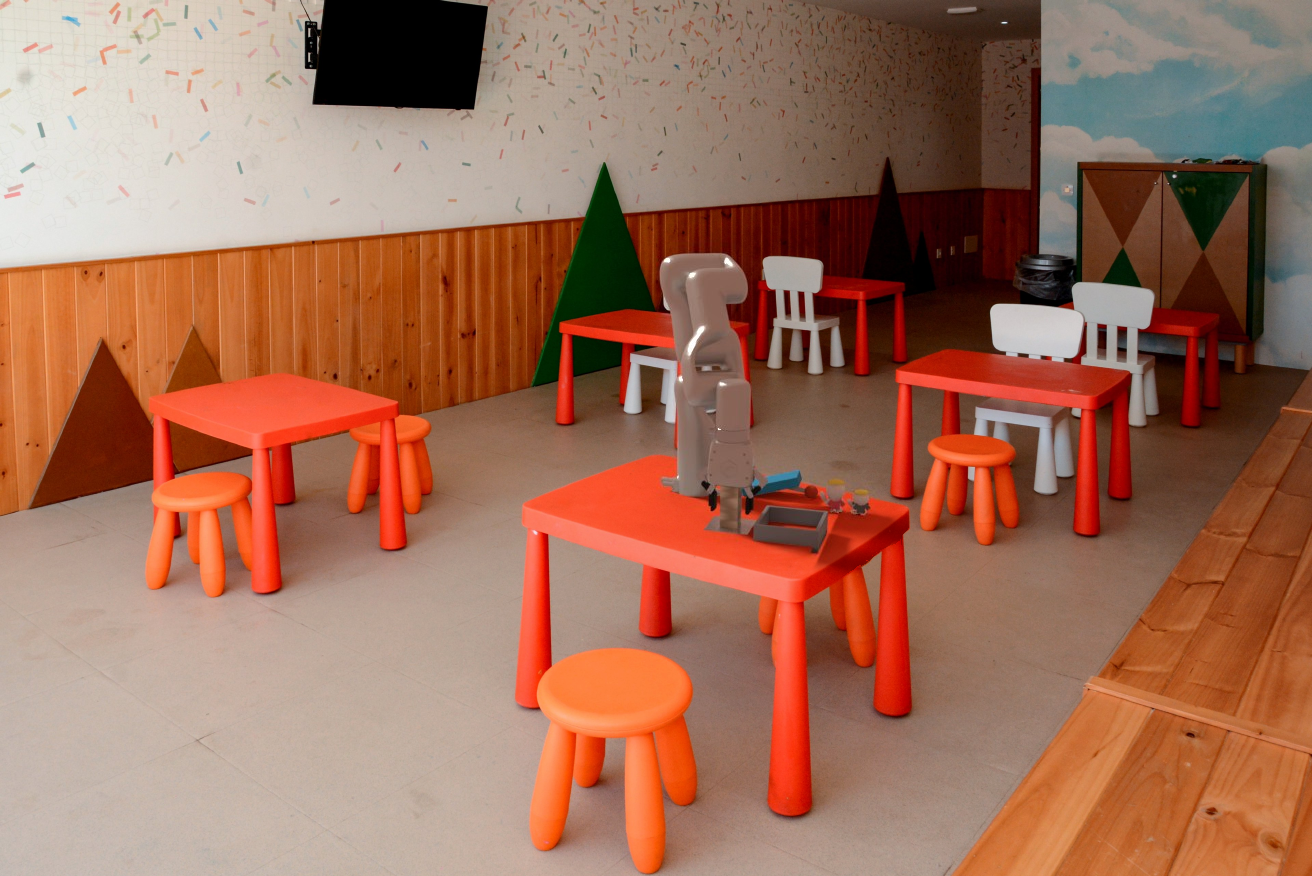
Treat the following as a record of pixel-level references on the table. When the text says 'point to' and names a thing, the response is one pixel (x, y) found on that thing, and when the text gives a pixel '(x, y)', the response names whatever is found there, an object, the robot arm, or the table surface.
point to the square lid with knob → (742, 529)
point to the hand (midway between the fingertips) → (730, 510)
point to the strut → (730, 507)
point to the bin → (792, 534)
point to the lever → (785, 484)
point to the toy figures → (835, 499)
